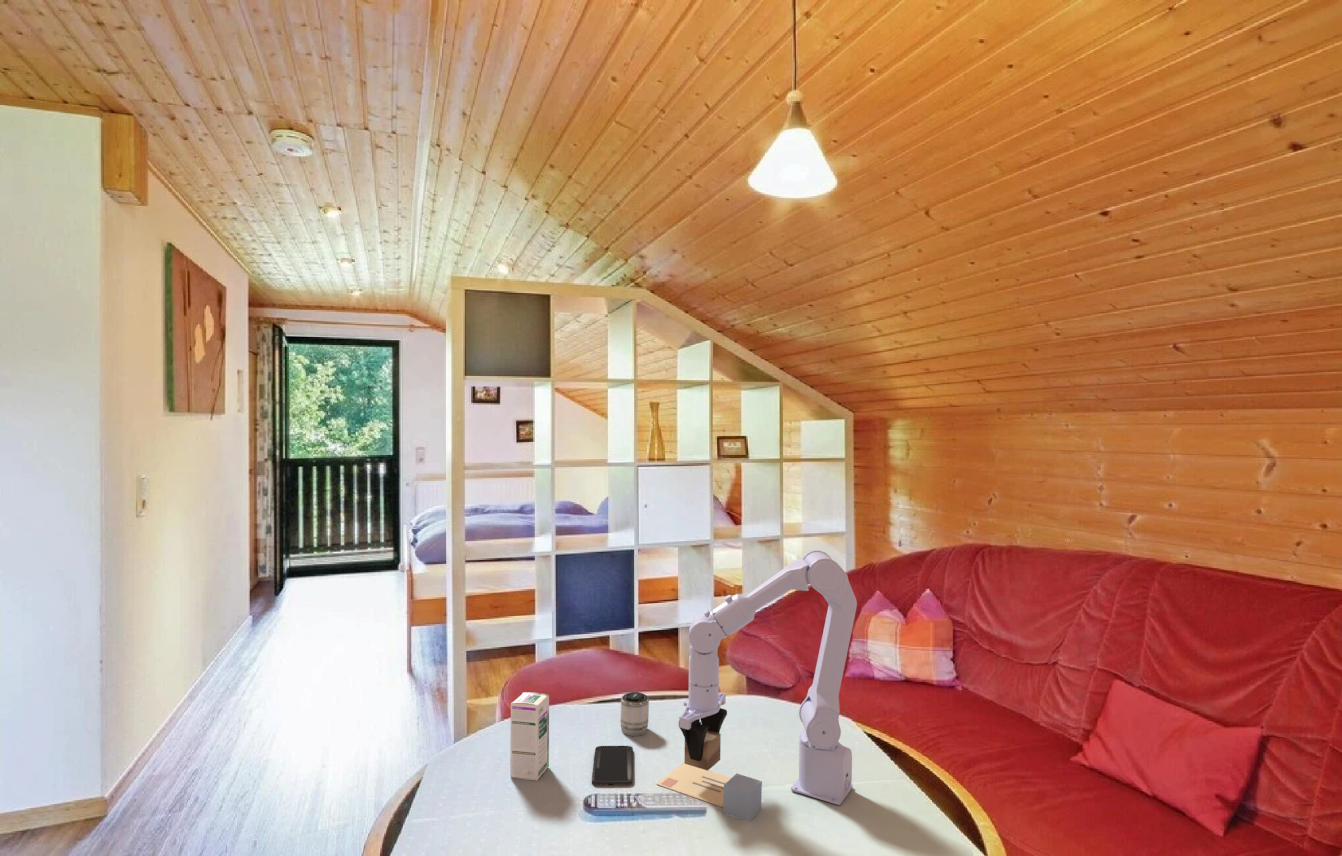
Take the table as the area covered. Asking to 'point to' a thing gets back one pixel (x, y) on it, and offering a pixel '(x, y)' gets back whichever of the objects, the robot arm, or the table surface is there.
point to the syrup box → (529, 736)
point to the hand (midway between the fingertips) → (702, 753)
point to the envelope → (696, 783)
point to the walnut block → (706, 752)
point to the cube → (742, 797)
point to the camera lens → (634, 713)
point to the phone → (613, 766)
